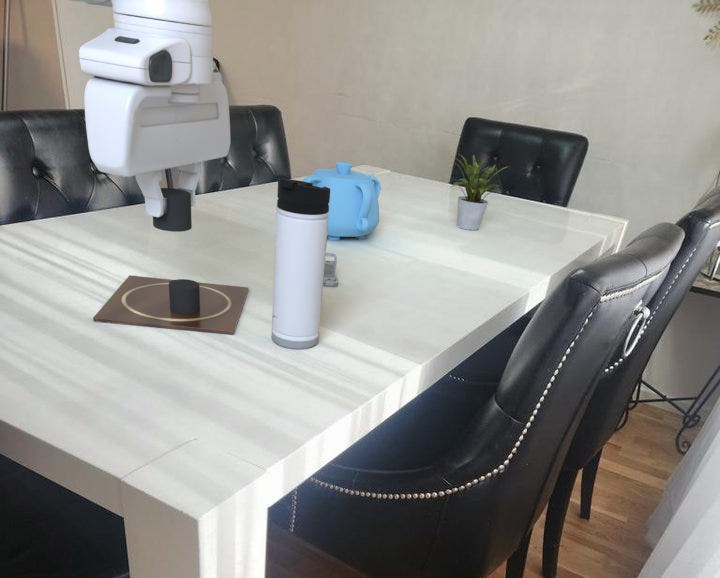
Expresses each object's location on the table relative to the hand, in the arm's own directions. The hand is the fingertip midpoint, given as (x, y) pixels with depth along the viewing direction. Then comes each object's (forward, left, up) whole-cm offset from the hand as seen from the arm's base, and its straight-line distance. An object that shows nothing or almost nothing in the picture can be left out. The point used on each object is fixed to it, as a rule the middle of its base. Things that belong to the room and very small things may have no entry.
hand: (171, 211), depth 69 cm
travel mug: (+14, +8, -17) cm, 23 cm away
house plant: (+50, +87, -17) cm, 102 cm away
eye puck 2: (-2, +14, -16) cm, 21 cm away
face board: (-3, +17, -17) cm, 24 cm away
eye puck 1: (0, 0, -2) cm, 2 cm away
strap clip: (+18, +36, -17) cm, 43 cm away
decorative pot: (+20, +67, -17) cm, 72 cm away
